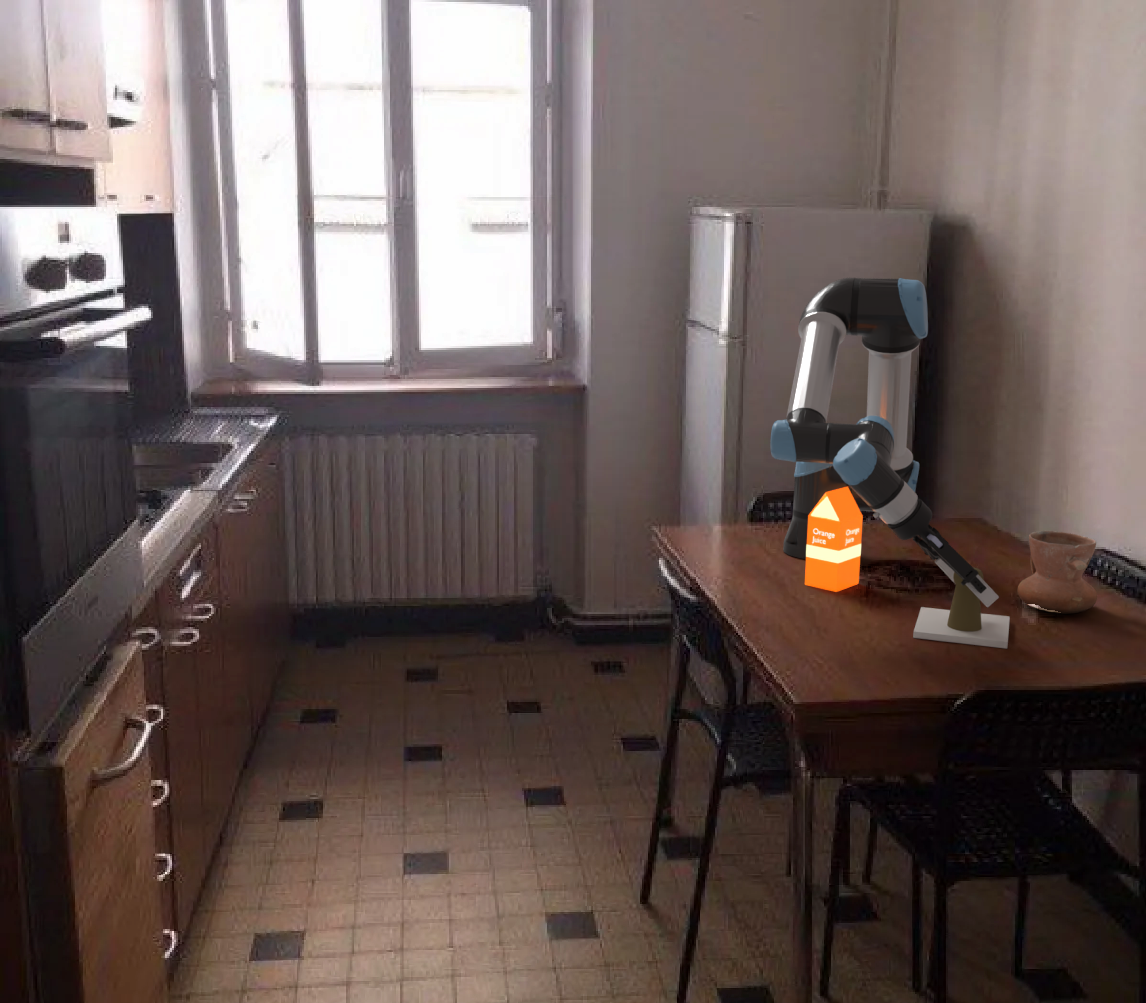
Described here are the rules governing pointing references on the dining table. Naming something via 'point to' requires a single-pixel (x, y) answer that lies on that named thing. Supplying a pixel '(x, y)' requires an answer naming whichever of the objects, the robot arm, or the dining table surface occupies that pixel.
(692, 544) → the dining table surface
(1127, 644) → the dining table surface
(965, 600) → the cork
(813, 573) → the orange juice
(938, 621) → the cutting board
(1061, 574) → the ceramic jug
